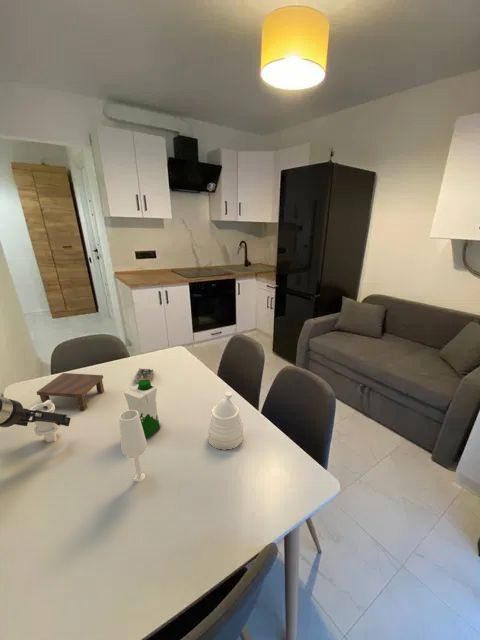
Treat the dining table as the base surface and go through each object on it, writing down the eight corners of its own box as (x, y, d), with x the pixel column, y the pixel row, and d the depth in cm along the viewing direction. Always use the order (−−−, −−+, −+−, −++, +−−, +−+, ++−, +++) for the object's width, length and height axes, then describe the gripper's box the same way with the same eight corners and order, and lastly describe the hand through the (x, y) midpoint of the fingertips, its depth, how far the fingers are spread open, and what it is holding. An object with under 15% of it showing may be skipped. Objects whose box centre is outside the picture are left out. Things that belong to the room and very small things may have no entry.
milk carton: (163, 428, 110) (158, 382, 102) (145, 442, 103) (138, 394, 95) (146, 421, 113) (140, 376, 106) (127, 434, 106) (119, 387, 98)
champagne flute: (138, 493, 84) (126, 426, 74) (123, 483, 87) (109, 417, 77) (156, 477, 89) (147, 412, 79) (141, 468, 92) (131, 405, 82)
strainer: (68, 436, 104) (58, 401, 98) (52, 450, 97) (40, 413, 91) (51, 433, 105) (40, 398, 99) (34, 446, 98) (21, 410, 92)
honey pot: (222, 422, 115) (221, 383, 108) (249, 434, 109) (251, 393, 102) (200, 441, 104) (198, 399, 97) (229, 455, 99) (229, 411, 92)
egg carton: (150, 384, 139) (149, 377, 137) (134, 384, 138) (132, 377, 136) (155, 373, 148) (154, 366, 147) (139, 374, 147) (138, 366, 146)
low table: (41, 408, 118) (36, 391, 115) (67, 388, 132) (63, 372, 129) (85, 411, 118) (81, 394, 114) (106, 390, 132) (102, 375, 129)
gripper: (-55, 425, 77) (5, 433, 96) (43, 425, 78) (83, 433, 98) (-44, 397, 79) (12, 410, 99) (50, 398, 81) (88, 411, 101)
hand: (48, 422), depth 99 cm, fingers open, 13 cm apart
